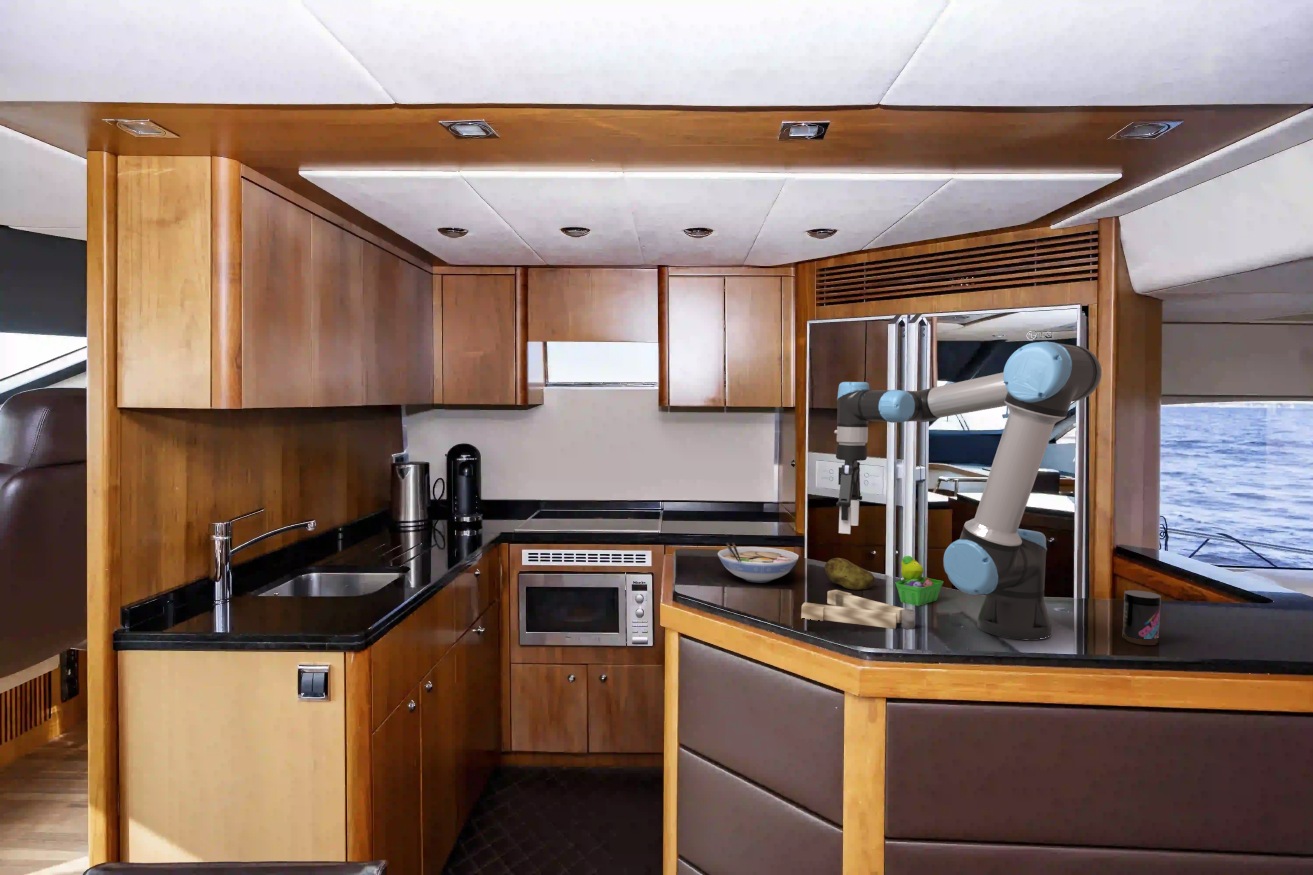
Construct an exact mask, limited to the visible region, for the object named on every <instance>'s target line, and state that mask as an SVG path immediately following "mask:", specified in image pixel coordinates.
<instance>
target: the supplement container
mask: <svg viewBox="0 0 1313 875" xmlns="http://www.w3.org/2000/svg"><path fill="white" fill-rule="evenodd" d="M1123 592H1124V594H1123V595H1124V596H1123V616H1122V618H1123V619H1122V620H1123V622H1122V635H1123V634H1124V635H1125V636H1128V637H1131V638H1136V639H1157V638H1160V622H1161V621H1160V620H1161V619H1160V618H1161V604H1162V601H1161V599H1162V595H1160V594H1158V593H1154V592H1150V591H1146V590H1145V591H1143V590H1133V589H1132V590H1124V591H1123Z"/></svg>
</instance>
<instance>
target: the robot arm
mask: <svg viewBox="0 0 1313 875" xmlns="http://www.w3.org/2000/svg"><path fill="white" fill-rule="evenodd" d="M1101 379H1102V367H1101V363H1100V360H1099V359H1098V357H1097V356H1096V355H1095V353H1093V352H1092V351H1091V350H1089V349H1087V348H1085V347H1083V346H1080V345H1075V344H1074V345H1073V344H1065V343H1058V342H1051V341H1039V342H1031V343H1028V344H1024V345H1023V346H1021V347H1019V348H1017V350H1015V351H1014V352H1013V353H1012V354H1011V355H1010V356H1009V358H1008V359H1007V361H1006V363H1005V365H1004V368H1003V372H1000V373H999V372H998V373H995V374H991V375H987V376H986V375H985V376H980V377H977V378H971V379H968V380H967V379H966V380H963V381H958V382H953V383H949V384H945V385H940V386H939V385H938V386H936V387H935V386H933V387H932V388H927V389H926V388H925V389H921V390H900V389H885V390H884V389H879V390H878V389H876V390H874V389H873V390H872V389H870V384H869V382H866V381H842V382H840V383H839V385H838V389H837V390H838V391H837V398H836V401H837V403H836V404H837V407H836V408H837V414H836V415H837V418H836V420H837V421H836V422H837V423H836V426H837V427H836V429H835V430H834V432H833V433H834V434H836V442H837V443H838V444H836V446H835V458H836V460H840V461H844V464H842V465H841V468H840V469H841V470H840V472H841V476H840V485H839V494H838V501H837V502H836V507H839V511H838V512H839V514H838V516H839V517H838V534H847V535H851V534H852V533H851V530H852V529H851V528H852V526H854V527H855V526H859V520H860V519H859V518H860V517H859V515H860V501H861V500H863V495H861V494H862V493H861V478H860V477H861V475H860V472H861V461H866V460H867V458H868V446H867V445H866V444H867V443H868V440H869V421H870V422H871V421H872V422H886V423H892V424H893V423H896V424H897V423H905V422H907V423H908V422H920V423H927V422H932V421H933V422H934V421H936V420H937V419H940V418H945V417H952V416H957V415H963V414H969V413H973V412H980V411H986V410H989V409H990V410H991V409H996V408H1002V407H1007V409H1008V412H1009V413H1008V415H1007V419H1006V421H1005V425H1004V428H1003V431H1002V434H1001V437H1000V441H999V444H998V446H997V449H996V453H995V455H994V458H993V461H992V464H991V467H990V471H989V473H988V476H987V479H986V482H985V485H984V489H983V492H982V495H981V498H980V500H979V502H978V503H979V504H978V507H977V509H976V513H975V516H974V518H971V519H970V520H966V521H965V523H964V525H963V527H962V531H961V533H960V535H959V536H960V537H959V539H956V540H955V541H953V542H951V543H950V544H949V545H948V547H947V548H946V549H945V551H944V554H943V559H942V560H943V561H942V562H943V569H944V572H945V574H946V575H947V577H948V580H949V581H950V583H951V584H952V585H953V586H955V588H957V589H958V590H959V591H961V592H963V593H966V594H968V595H971V596H972V595H974V596H975V595H985V598H984V599H983V601H982V602H983V603H982V605H981V607H980V609H979V613H978V614H977V623H976V626H977V628H978V629H979V630H980V631H983V632H985V633H987V634H990V635H993V636H996V637H1001V638H1005V639H1006V638H1007V639H1012V638H1014V639H1013V640H1020V639H1040V638H1045V637H1048V636H1050V635H1051V636H1052V630H1053V629H1052V628H1053V627H1052V626H1053V625H1052V621H1051V619H1050V616H1049V613H1048V609H1047V608H1048V607H1047V605H1046V603H1045V582H1046V566H1047V565H1046V563H1047V561H1046V559H1047V551H1048V548H1047V547H1048V546H1047V537H1046V536H1045V534H1044V533H1043V532H1040V531H1037V530H1036V531H1035V530H1029V529H1022V528H1019V527H1020V525H1021V522H1022V518H1023V516H1024V513H1025V511H1026V508H1027V505H1028V501H1029V498H1030V497H1031V493H1032V489H1033V487H1034V484H1035V481H1036V478H1037V476H1038V473H1039V469H1040V467H1041V464H1042V461H1043V458H1044V455H1045V452H1046V450H1047V447H1048V443H1049V441H1050V438H1051V436H1052V433H1053V430H1054V427H1055V424H1056V423H1058V422H1060V421H1062V420H1064V419H1065V418H1067V415H1068V412H1069V410H1070V408H1071V404H1072V402H1074V403H1075V402H1078V401H1081V400H1084V399H1086V398H1088V397H1089V396H1091V395H1092V394H1093V393H1094V391H1096V390H1097V388H1098V386H1099V384H1100V383H1101ZM1051 636H1050V637H1051Z"/></svg>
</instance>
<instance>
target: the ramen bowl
mask: <svg viewBox="0 0 1313 875" xmlns="http://www.w3.org/2000/svg"><path fill="white" fill-rule="evenodd" d="M725 545H726V547H727V548H724V549H720V550H719V551H718V552H717V556H718V558H719V560H720V562H721V563H722V565H723V567H724V568H726V570H728V571H729V572H730V573H731V574H733V575H734V576H736V577H738V578H741V579H743V580H745V581H746V582H750V583H754V584H755V583H757V584H763V583H770V582H771V581H773V580H777V579H779V578H782V577H784V576H786V575H787V574H788V573H790V572H791V571H792V570H793V567H794V566H795V565H796V564H797V562H798V560H799V556H800V555H799V554H797V553H795V552H793V551H790V550H787V549H783V548H777V547H776V548H774V547H768V546H767V547H763V546H762V547H761V546H736V543H735V542H732V543H731V545H732V547H731V545H730V543H729V542H726V544H725Z"/></svg>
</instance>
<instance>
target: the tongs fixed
mask: <svg viewBox="0 0 1313 875" xmlns="http://www.w3.org/2000/svg"><path fill="white" fill-rule="evenodd" d="M800 611H801V614H800V618H801V619H802V618H805V620H810V619H811V620H812V621H818V620H820V622H823V621H829V622H835V623H836V622H837V623H843V624H844V623H845V624H854V625H861V626H862V625H863V626H870V627H878V628H887V629H895V630H896V628H897V624H898V623H897V613H891V612H882V611H874V610H865V609H857V608H848V607H839V606H835V605H832V604H821V603H812V602H806V601H805V602H803V603H802V605H801V610H800ZM915 619H916V610H914V609H909V608H904V609H903V610H902V623H901V628H903V629H906V630H914V629H915V628H916V627H915V626H916V624H915V621H916V620H915Z"/></svg>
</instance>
